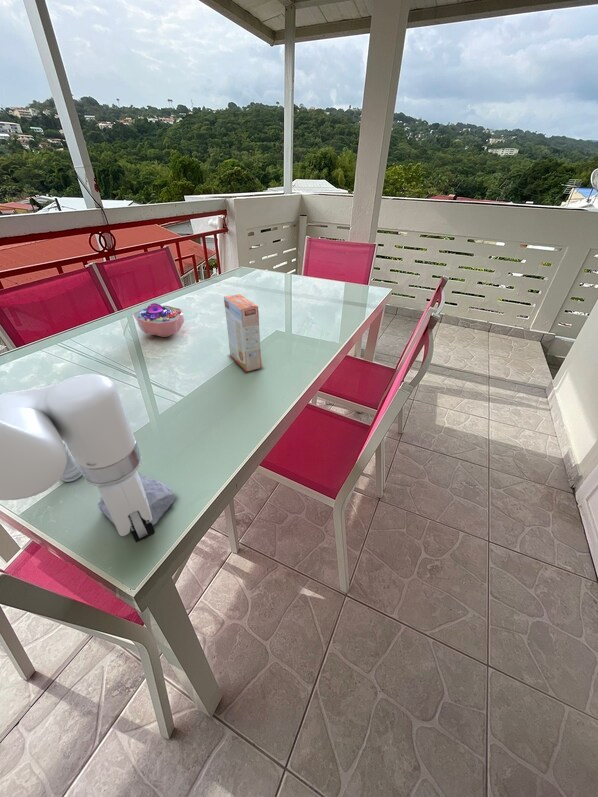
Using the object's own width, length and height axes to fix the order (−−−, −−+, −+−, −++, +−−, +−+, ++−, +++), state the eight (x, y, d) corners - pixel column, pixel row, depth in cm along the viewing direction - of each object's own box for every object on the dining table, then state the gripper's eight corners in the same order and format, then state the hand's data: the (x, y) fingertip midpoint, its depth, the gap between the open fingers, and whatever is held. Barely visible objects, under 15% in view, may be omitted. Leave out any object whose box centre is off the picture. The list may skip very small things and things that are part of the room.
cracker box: (262, 368, 108) (259, 305, 96) (245, 373, 105) (239, 309, 93) (245, 351, 118) (240, 292, 106) (229, 355, 115) (222, 295, 103)
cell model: (150, 348, 119) (142, 318, 112) (133, 331, 132) (125, 303, 125) (194, 336, 128) (189, 308, 121) (175, 321, 140) (169, 294, 134)
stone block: (144, 544, 59) (180, 496, 65) (132, 532, 55) (171, 483, 61) (99, 520, 63) (137, 477, 69) (85, 508, 60) (126, 464, 66)
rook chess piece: (55, 481, 68) (38, 453, 64) (71, 465, 72) (56, 438, 67) (75, 484, 68) (59, 456, 63) (89, 468, 71) (75, 440, 67)
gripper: (73, 439, 49) (112, 515, 60) (89, 508, 40) (132, 584, 50) (126, 421, 53) (154, 495, 64) (153, 480, 43) (181, 556, 54)
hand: (144, 534), depth 57 cm, fingers closed
